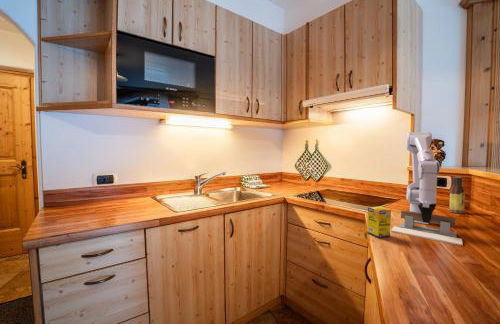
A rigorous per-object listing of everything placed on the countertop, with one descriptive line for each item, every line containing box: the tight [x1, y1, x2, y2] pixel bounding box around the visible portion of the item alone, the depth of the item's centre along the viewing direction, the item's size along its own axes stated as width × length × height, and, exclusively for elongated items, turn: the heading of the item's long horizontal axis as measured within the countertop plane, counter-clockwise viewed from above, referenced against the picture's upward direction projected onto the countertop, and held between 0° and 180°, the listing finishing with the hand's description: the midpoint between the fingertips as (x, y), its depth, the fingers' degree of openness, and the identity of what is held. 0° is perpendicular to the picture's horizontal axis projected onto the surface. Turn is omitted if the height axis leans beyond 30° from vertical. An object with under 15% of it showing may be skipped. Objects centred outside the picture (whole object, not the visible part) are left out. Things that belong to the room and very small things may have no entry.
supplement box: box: [366, 206, 392, 239], centre depth 92 cm, size 6×6×11 cm
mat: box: [390, 225, 463, 247], centre depth 92 cm, size 7×22×1 cm, turn 49°
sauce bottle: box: [448, 176, 466, 215], centre depth 128 cm, size 6×6×20 cm
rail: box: [400, 209, 456, 228], centre depth 97 cm, size 3×18×3 cm, turn 49°
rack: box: [398, 216, 458, 238], centre depth 98 cm, size 6×19×6 cm, turn 49°
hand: (426, 221), depth 97 cm, fingers open, 3 cm apart
